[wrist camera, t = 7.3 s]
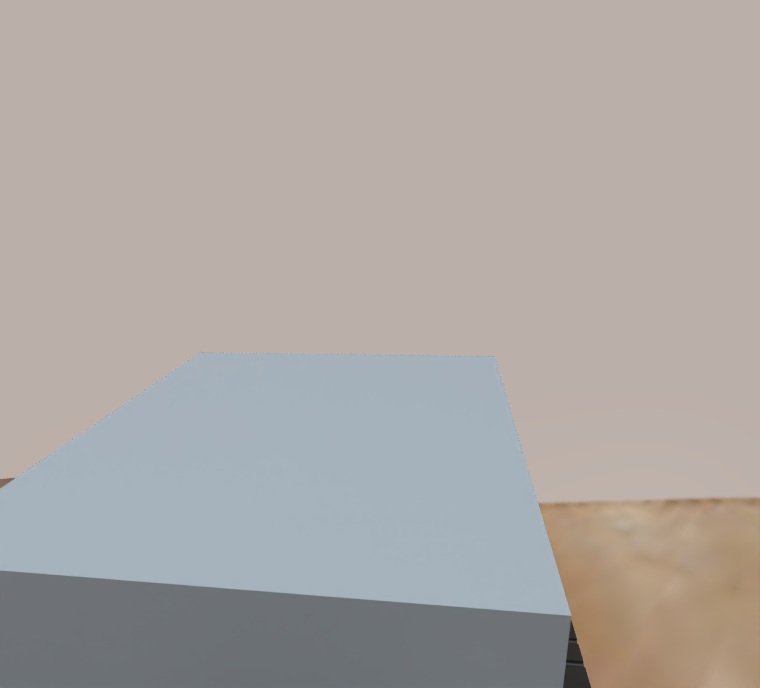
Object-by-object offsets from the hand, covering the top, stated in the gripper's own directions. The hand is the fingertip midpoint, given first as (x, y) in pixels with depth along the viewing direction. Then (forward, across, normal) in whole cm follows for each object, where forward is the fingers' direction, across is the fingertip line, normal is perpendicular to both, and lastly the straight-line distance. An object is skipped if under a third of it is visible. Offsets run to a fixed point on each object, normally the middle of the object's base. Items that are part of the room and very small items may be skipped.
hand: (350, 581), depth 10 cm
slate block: (-3, 0, +7) cm, 7 cm away
